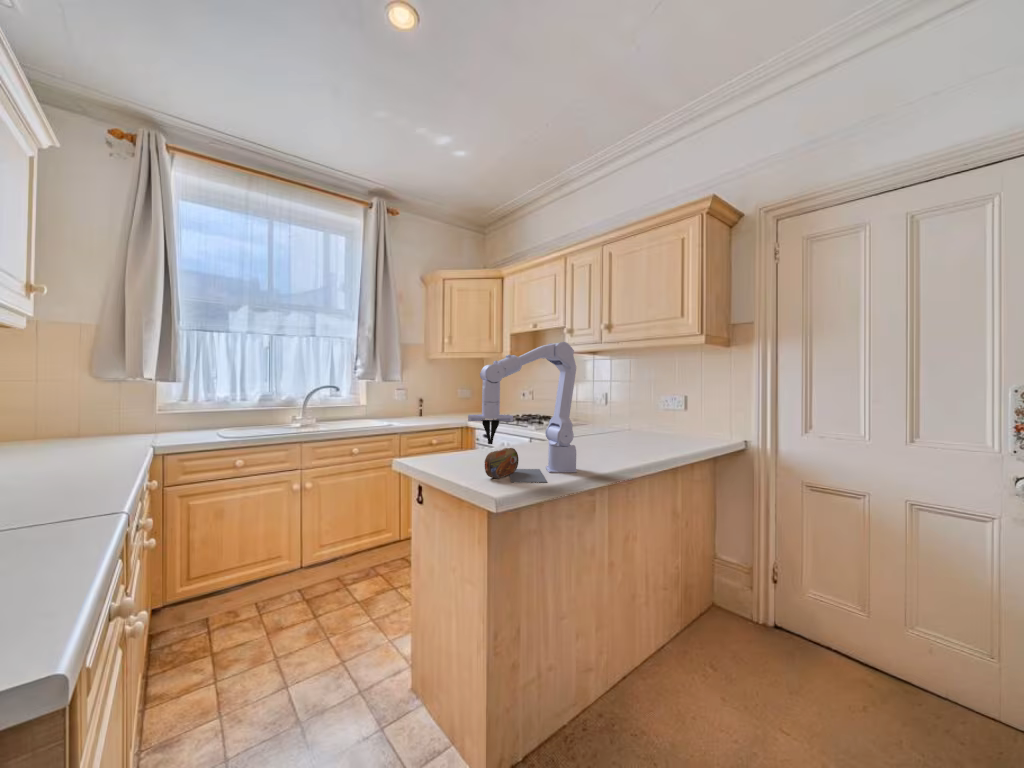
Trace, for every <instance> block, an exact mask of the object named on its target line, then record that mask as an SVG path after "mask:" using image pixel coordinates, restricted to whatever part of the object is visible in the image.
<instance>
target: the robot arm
mask: <svg viewBox="0 0 1024 768" xmlns="http://www.w3.org/2000/svg"><path fill="white" fill-rule="evenodd" d="M574 354H575V349H573V347H572V346H571V344H569V343H568V342H566V341H561V342H556V343H548V344H544V345H541V346H538V347H536V348H533V349H532V350H530V351H527V352H525V353H523V354H521V355H519V356H517V355H515V354H512V355H511V354H507V355H505V358H502V359H500V360H498V361H497V360H494V361H493V363H492V364H486V365H484V366H483V367H482V369H481V370H480V373H479V376H480V377H479V378H480V379H481V380H482V388H481V389H482V392H481V395H482V396H481V397H482V398H481V414H468V415H467V422H481V423H482V426H483V428H484V431H485V434H486V438H487V444H488V445H493V443H494V442H493V441H494V437H495V434H496V432H497V429H498V427H499V425H500V422H506V423H507V422H509V423H513V422H514V415H512V414H511V415H510V414H509V415H508V414H507V415H506V414H500V409H501V405H500V404H501V401H500V400H501V381H502V380H503V379H504V378H506V377H509V376H511V375H513V374H515V373H517V372H521V369H522V367H523V366H525V365H527V364H529V363H531V362H535V361H538V360H539V359H546V360H547V361H548V362H550V363H551V364H553V366H555V367H556V368H557V370H558V371H559V375H558V376H559V377H558V384H557V391H556V397H555V404H554V412H553V416H552V417H551V418H550V419H549V422H548V423H549V424H547V427H546V428H545V433H544V434H545V438H546V440H548V455H547V456H548V458H547V460H548V463H547V465H546V466H545V469H546V470H547V471H548V472H549V473H577V447H576V445H574V444H571V443H572V442H573V440H574V431H573V427H574V425H573V422H572V420H571V419H570V416H571V409H572V400H573V394H574V387H575V381H576V372H577V365H576V360H575V358H574V356H575V355H574Z"/></svg>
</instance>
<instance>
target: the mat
mask: <svg viewBox="0 0 1024 768" xmlns="http://www.w3.org/2000/svg"><path fill="white" fill-rule="evenodd" d="M508 476H509V478H510V482H512V484H513V483H514V482H531V483H530V484H535V483H536V482H537V483H538V482H539V483H538V484H541V483H543V484H546V483H548V480H547V479H546V477H545V476H544V474H543V472H542V470H541V469H540V468H517V469H516V471H515V472H514V473H512V474H509V475H508ZM533 482H535V483H533ZM537 483H536V484H537ZM514 484H515V483H514Z"/></svg>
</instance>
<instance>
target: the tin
mask: <svg viewBox="0 0 1024 768" xmlns="http://www.w3.org/2000/svg"><path fill="white" fill-rule="evenodd" d="M518 465H519V455H518V452H517V450H516V449H515V448H514V447H504V448H501V449H499V450H497V449H496V450H494V451H491V452H489V453H488V454H487V455H486V456H485V458H484V471H485V474H486V476H488V477H490V478H492V479H500V478H503V477H506V476H510V475H509V474H512V473H514V472H515V471H516V469H518Z"/></svg>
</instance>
